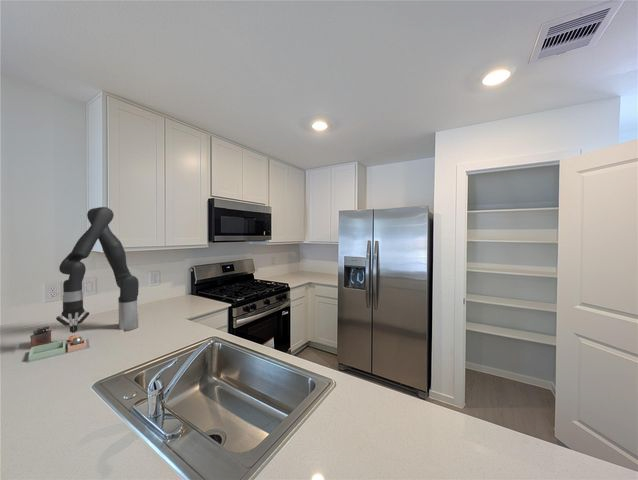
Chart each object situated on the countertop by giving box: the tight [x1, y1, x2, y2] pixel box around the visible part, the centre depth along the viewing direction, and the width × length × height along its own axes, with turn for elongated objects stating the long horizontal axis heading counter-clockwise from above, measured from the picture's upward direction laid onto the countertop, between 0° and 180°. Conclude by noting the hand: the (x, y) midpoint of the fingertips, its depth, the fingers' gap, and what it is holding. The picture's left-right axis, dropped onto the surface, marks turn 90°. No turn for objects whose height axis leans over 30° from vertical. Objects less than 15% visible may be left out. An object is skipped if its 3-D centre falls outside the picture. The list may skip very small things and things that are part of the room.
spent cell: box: [73, 336, 82, 345], centre depth 126 cm, size 3×3×6 cm
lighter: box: [29, 325, 52, 348], centre depth 128 cm, size 8×3×10 cm, turn 168°
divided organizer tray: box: [25, 336, 90, 364], centre depth 124 cm, size 21×14×4 cm, turn 135°
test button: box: [68, 334, 80, 342], centre depth 130 cm, size 4×4×4 cm
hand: (73, 332), depth 130 cm, fingers closed
